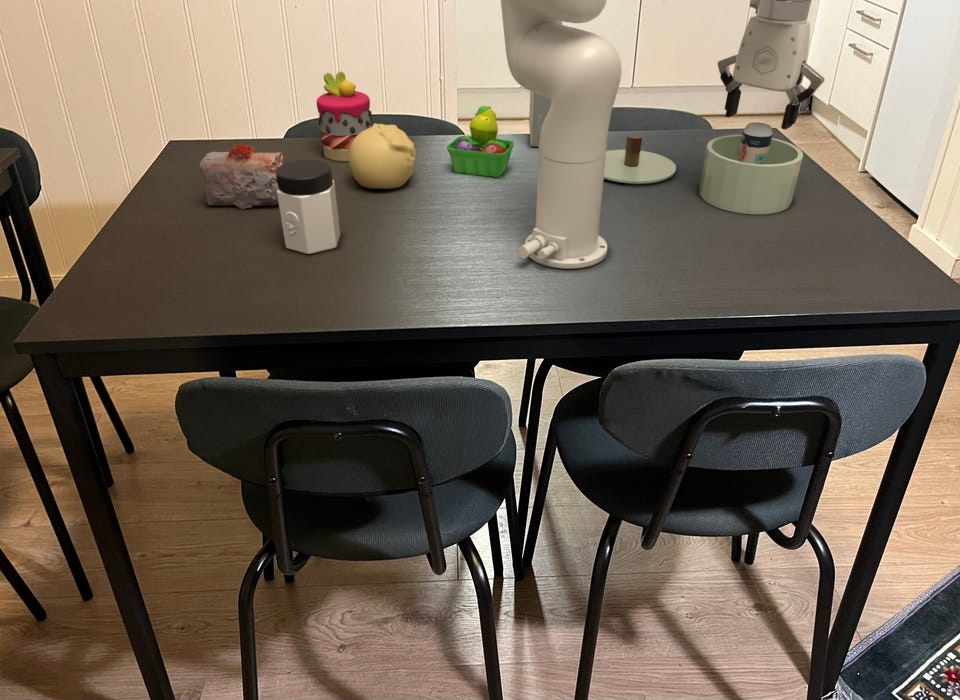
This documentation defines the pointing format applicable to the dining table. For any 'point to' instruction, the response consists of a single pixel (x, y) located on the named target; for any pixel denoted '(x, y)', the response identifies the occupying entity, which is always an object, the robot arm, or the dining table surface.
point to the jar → (308, 206)
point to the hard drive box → (537, 115)
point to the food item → (241, 177)
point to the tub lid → (637, 164)
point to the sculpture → (382, 157)
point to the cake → (341, 116)
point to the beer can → (755, 143)
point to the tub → (749, 177)
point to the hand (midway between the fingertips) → (758, 121)
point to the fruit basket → (481, 147)
